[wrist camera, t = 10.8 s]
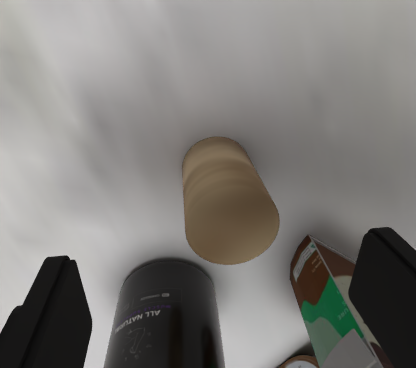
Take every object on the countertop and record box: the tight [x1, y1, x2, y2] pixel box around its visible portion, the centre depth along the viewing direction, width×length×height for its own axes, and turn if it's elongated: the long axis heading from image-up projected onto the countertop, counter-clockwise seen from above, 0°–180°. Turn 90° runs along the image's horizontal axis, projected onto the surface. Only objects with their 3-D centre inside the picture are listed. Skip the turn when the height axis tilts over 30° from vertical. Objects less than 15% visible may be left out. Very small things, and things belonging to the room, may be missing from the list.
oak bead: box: [182, 137, 279, 265], centre depth 16 cm, size 4×4×6 cm
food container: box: [290, 235, 394, 368], centre depth 19 cm, size 12×6×10 cm, turn 56°
